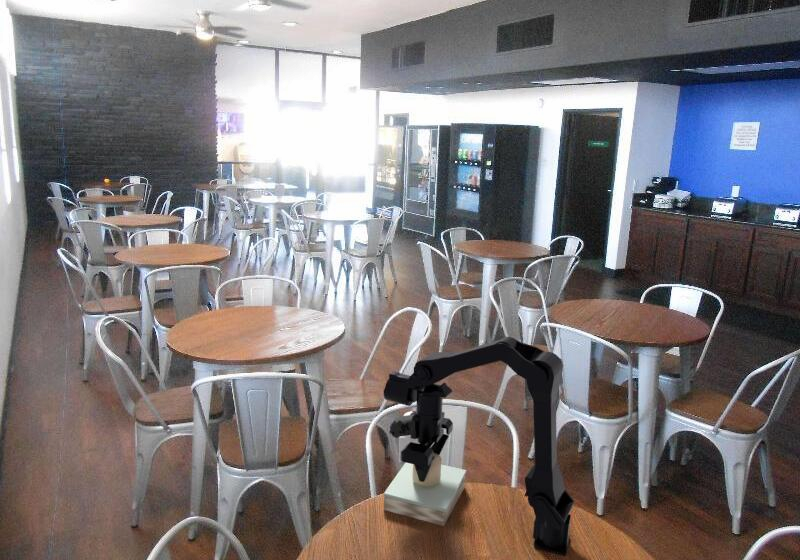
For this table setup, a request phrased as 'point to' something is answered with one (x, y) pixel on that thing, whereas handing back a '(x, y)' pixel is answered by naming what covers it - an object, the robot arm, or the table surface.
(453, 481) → the lid
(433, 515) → the box
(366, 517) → the table surface
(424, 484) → the cream dome knob
